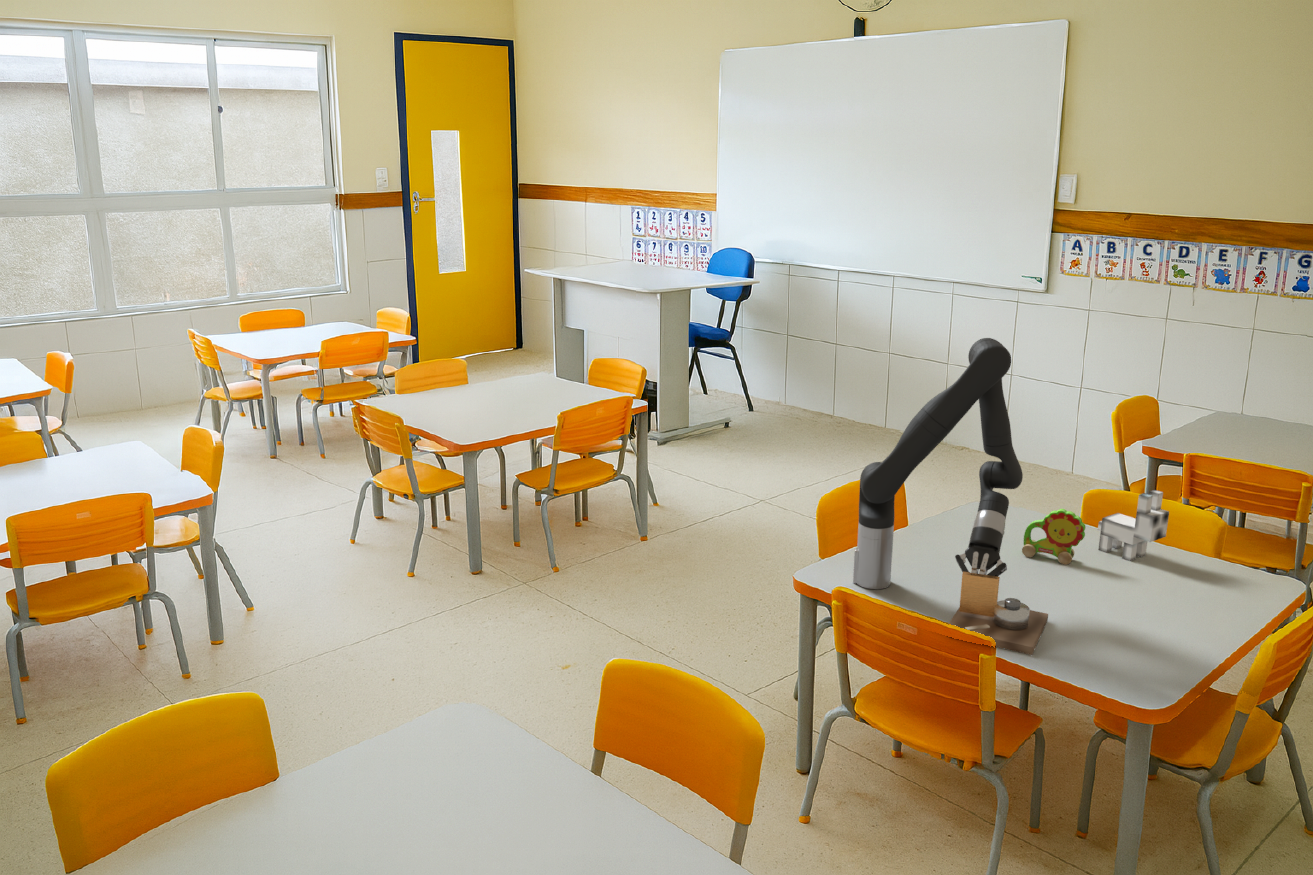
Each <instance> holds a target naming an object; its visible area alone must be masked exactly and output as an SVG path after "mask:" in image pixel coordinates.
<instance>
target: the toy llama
mask: <svg viewBox="0 0 1313 875" xmlns="http://www.w3.org/2000/svg"><path fill="white" fill-rule="evenodd" d="M1163 496H1164V492H1163V491H1160V490H1156V489H1153V490H1149V492H1148V493H1145V492H1143V493H1140V494H1138V499H1137V508H1136V516H1135V518H1134V517H1133V516H1130V515H1125V514H1123V513H1120V512H1116V513H1114V514H1110V515H1107V516H1104V517H1102V519H1101V520H1100V521H1098V523H1097V524H1098V526H1097V530H1098V531H1100V536H1099V543H1098V551H1099V552H1102V553H1106V554H1107V553H1110V552H1112V549H1114V550H1117V549H1121V548H1123V550H1122V556H1121V557H1122V558H1121V559H1122V560H1125V561H1128V562H1133V561H1135V560H1136V558H1137V557H1138V558H1143V557H1146V555H1147V548H1148V543H1152V542H1155V541H1157V540H1160V539H1161V540H1162V539H1163V538H1166V537H1167V529H1168V523H1169V517H1170V516H1169V515H1170V511H1169V510H1165V509H1162V503H1163Z"/></svg>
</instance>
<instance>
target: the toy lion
mask: <svg viewBox="0 0 1313 875" xmlns="http://www.w3.org/2000/svg"><path fill="white" fill-rule="evenodd" d="M1035 528H1040V529H1041V530H1043V532H1044V533H1045V535H1046V537H1044V538H1040V539H1038V540H1034V539H1032V536H1031V535H1032V531H1033V530H1034V529H1035ZM1085 530H1086V524H1085V523H1084V522H1083V519H1082V517H1081V516H1079V515H1076V513H1075V512H1074V511H1070V510H1066V508H1059V509H1058V510H1052V511H1051V512H1050V513H1049V514H1047V515H1045V516H1044V518H1043V519H1036V520H1033V521H1031V522H1030V523H1029V525H1028V526H1027V527H1026V528H1025V530H1024V534H1023V546H1022V548H1021V553H1022V555H1023V556H1024V557H1027V558H1032V557H1034V556H1035V555H1036V554H1038V553H1042V554H1044V553H1045V554H1048V555H1051V556H1054V557H1055V558H1057V561H1058V562H1059V563H1060V564H1061V565H1065V566H1066V565H1069V564H1071V562H1072V561H1073V558H1074V556H1075V550H1074V548H1073V547H1077V546H1078V545H1079V544H1080V543H1081V541H1083V540H1084V539H1085V536H1086V533H1085Z"/></svg>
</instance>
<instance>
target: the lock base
mask: <svg viewBox="0 0 1313 875" xmlns="http://www.w3.org/2000/svg"><path fill="white" fill-rule="evenodd" d="M959 608H960V606H959V607H958V608H957V610H956V612H955V613H953V614H954V615H953V616H952V618H951V619H950V620H949V622H948V624H951V625H956V626H958V627H960V628H964V629H967V630H970V631H975V632H978V633H981V634H984V635H985V636H990V637H992V638H993V639H994V640H995V642H996V646H997V647H996V648H998V647H999V649H1003V648H1005V649H1004V650H1007V649H1008V651H1011V650H1012V651H1013V652H1016V653H1021V654H1025V655H1030V656H1033V654H1034V652H1035V650H1036V647H1037V646H1038V642H1039V641H1040V639H1041V637H1040V636H1042V634H1043V631H1044V630H1045V628H1046V625H1047V623H1048V621H1049V613H1047V612H1046V613H1045V612H1041V611H1036V610H1032V609H1030V612H1029V621H1028V627H1027V628H1025V629H1021V630H1010V629H1005V628H1002V627H1000V626H998V625H996V624H995V623H994V621H993V617H990V616H984V615H978V614H971V613H965V612H959ZM1034 649H1035V650H1034Z"/></svg>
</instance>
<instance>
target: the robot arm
mask: <svg viewBox="0 0 1313 875" xmlns="http://www.w3.org/2000/svg"><path fill="white" fill-rule="evenodd" d="M1011 356H1012V355H1011V353H1010V352H1009V350H1008V349H1007V348H1006V347H1005V346H1004V345H1003V344H1002V343H1001V342H1000V341H998V340H997V339H995V338H991V337H983V338H980V339H978V340H977V341H975V342H974V343H973V344H972V345H971V347H970V348H969V351H968V357H967V358H968V363H969V365H968V366H967V368H966V369H965V370H964V372H962V374H961V375H960V377H959V378H957V380H956V381H955V382H953V383H952V385H950V386H949V387H947V388H946V389H944V390H943V391H941V392H940V393H938V394H936V395H935V396H934V397H933V398H931V399H930V400H928V401H927V403H925V404H924V405H923V406H922V408H920V410H919V411H918V412H917V413H916V414H915V415H914V417H912V419H911V420H910V422H908V425H907V426H906V428H905V430H903V432H902V434H901V436H900V438H899V440H898V441H897V443H896V445H895V446H894V448H893V450H892V451H891V452H890V454H888V456H886V457H885V459H884V460H882V462H881V461H876V462H875V461H874V462H871V463H869V464H867V465H866V466H865V467H864V468H863V470H862V472H861V474H860V478H859V495H858V497H859V498H858V528H857V545H856V546H857V547H856V549H854V556H853V572H852V573H853V575H852V577H853V578H852V583H853V584H856V583H857V584H856V585H858V586H860V587H862V588H864V589H871V590H882V589H885V588H888V587H889V586H891V579H892V578H891V577H892V565H893V564H892V562H893V561H892V560H893V548H894V547H893V546H894V529H895V528H894V527H895V501H896V500H895V499H896V497H895V496H896V495H897V493H898V492H899V490H900V489H901V487H902V486H903V485H904V484H905V482H906V481H907V479H908V478H909V476H910V475H911V474H912V473H913V471H914V470H915V469H916V468H917V467H918V466H919V465H920V464H921V463H922V462H923V461H924V460H925V459H926V458H927V457H928V456H929V455H930V454H931V452H933V451H934V450H935V448H936V447H938V445H939V444H941V443H942V441H943V440H945V438H946V437H947V436H948V435H949V434H950V433H951V432H952V430H953V429H954V428H955V427H956V426H957V425H958V424H959V423H960V421H961V420H962V419H963V418H964V416H966V414H967V413H968V412H969V411H970V410H971V408H972V407H973V406H974V405H975V404H976V403H977V402H978V404H979V414H980V424H981V425H980V426H981V435H982V436H981V437H982V444H983V445H982V446H983V451H984V453H985V454H986V455H988V456H990V457H995V458H997V459H999V460H1000V461H998V460H994V461H993V460H987V461H985V462H983V463H982V465H981V466H980V467H979V472H978V475H979V485H980V486H979V487H980V497H979V498H980V499H979V502H978V503H979V504H978V508H977V512H976V515H975V518H974V521H973V525H972V530H971V534H970V539H969V543H968V546H967V548H966V549H965V551H964V553H962V554H955V556H954V558H955V561H956V563H957V565H958V566H959V568H960V570H961V572H962V573H963V572H970V571H969V568H968V567H967V565H966V564H965V563H966V560H967V561H968V563H969V565H970V566H971V572H970V573H977V574H983V575H990V576H997V577H1000V576H1001V575H1002V574H1003V573H1005V572H1006V571H1007V570H1008V565H1007V563H1006V562H1004V561H1002V559H1001V554H1000V553H1001V547H1002V543H1003V538H1004V535H1005V529H1006V520H1007V514H1008V511H1009V504H1010V501H1009V497H1007V495H1005V494H1003V493H1001V492H998V491H996V490H994V489H1002V490H1015V489H1018V488H1019V487H1020V486H1021V484H1022V482H1023V475H1024V474H1023V470H1022V466H1021V464H1020V461H1019V460H1018V458H1017V455H1016V451H1015V449H1014V446H1013V440H1012V429H1011V422H1010V415H1009V413H1008V412H1009V411H1008V409H1007V405H1006V400H1005V395H1004V390H1003V389H1004V388H1003V377H1005V376H1006V375H1007V373H1009V370H1010V368H1011V364H1012V357H1011ZM994 566H995V568H993V567H994ZM992 568H993V569H992ZM991 569H992V570H991ZM989 570H991V571H990V572H988V571H989Z"/></svg>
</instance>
